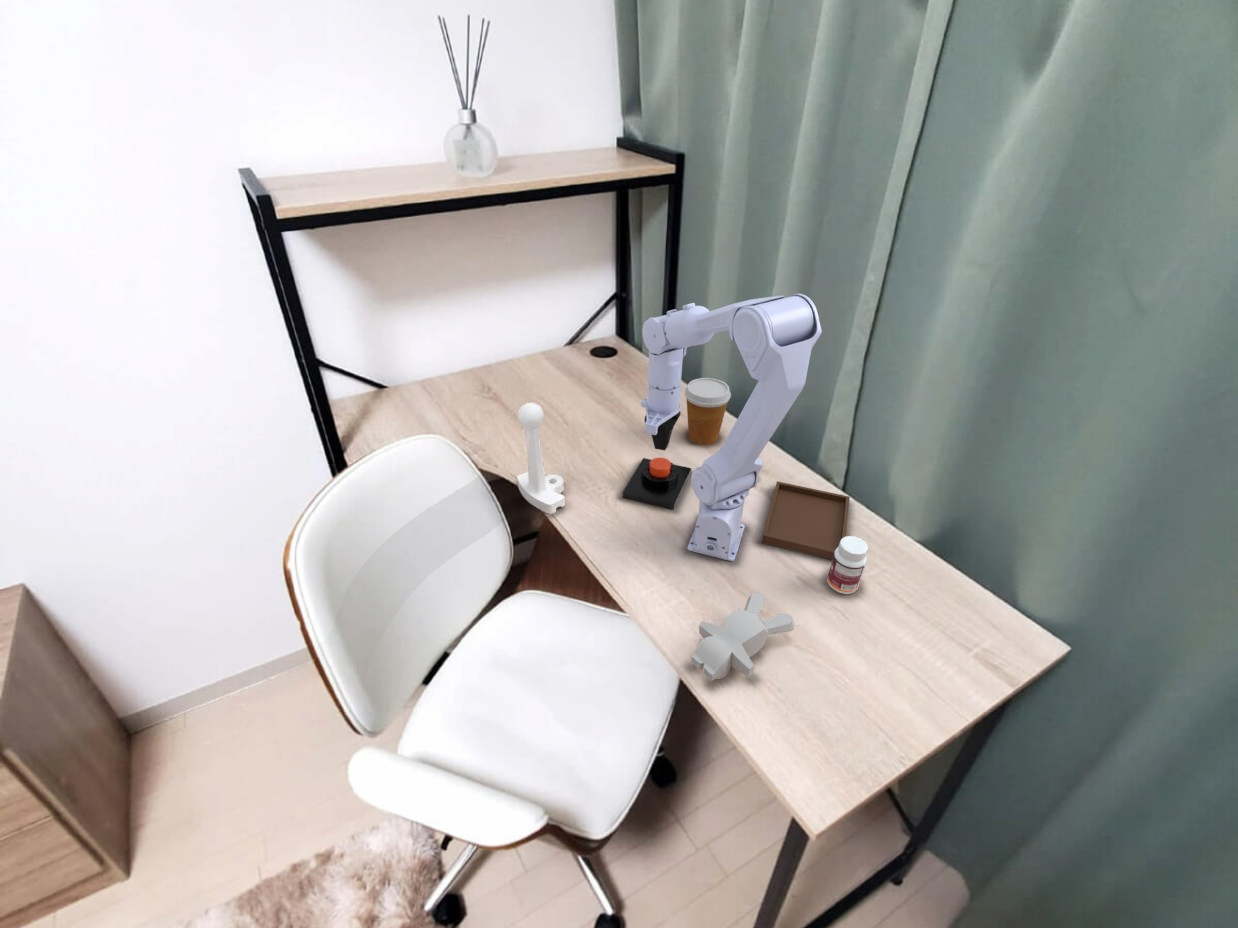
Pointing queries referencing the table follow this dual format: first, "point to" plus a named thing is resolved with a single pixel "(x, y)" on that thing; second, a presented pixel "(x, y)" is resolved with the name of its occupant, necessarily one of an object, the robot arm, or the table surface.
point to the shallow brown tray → (806, 520)
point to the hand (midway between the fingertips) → (661, 447)
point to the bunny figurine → (737, 639)
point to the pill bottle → (848, 565)
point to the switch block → (657, 485)
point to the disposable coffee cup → (706, 408)
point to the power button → (660, 467)
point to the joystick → (538, 465)
